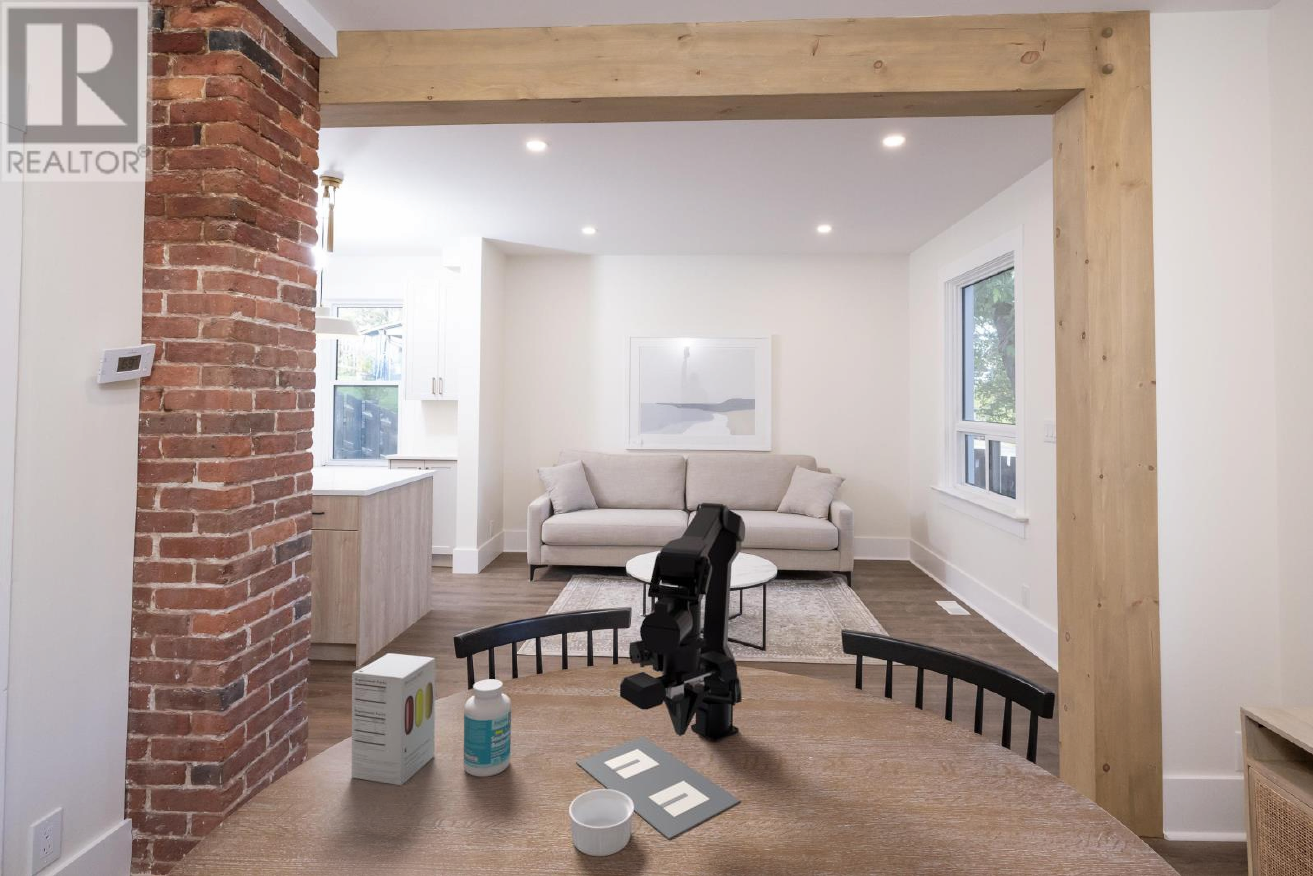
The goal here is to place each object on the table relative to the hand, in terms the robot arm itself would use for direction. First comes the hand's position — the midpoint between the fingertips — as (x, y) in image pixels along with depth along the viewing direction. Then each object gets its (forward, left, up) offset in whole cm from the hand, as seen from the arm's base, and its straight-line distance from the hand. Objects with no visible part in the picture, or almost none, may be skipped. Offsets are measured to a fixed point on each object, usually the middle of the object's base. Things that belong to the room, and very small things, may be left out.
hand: (680, 734), depth 94 cm
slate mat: (0, -6, -10) cm, 12 cm away
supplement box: (+31, -35, -10) cm, 48 cm away
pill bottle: (+19, -26, -10) cm, 34 cm away
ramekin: (+14, 0, -10) cm, 17 cm away
